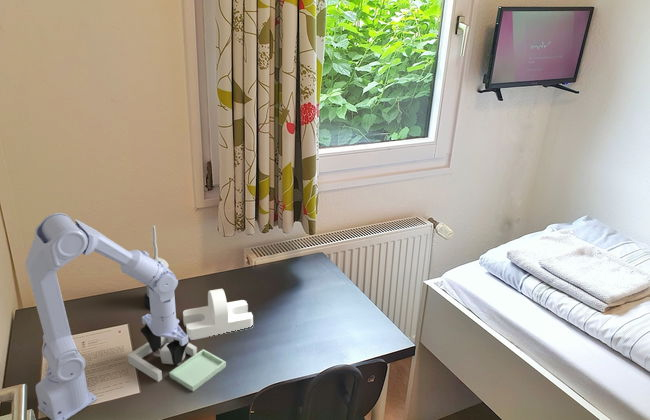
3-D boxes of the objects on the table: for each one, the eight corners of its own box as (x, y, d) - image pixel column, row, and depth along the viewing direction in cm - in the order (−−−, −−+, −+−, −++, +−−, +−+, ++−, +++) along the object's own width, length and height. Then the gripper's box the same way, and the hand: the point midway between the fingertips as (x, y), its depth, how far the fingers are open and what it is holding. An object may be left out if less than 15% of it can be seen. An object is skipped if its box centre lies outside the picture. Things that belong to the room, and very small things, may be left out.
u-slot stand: (182, 321, 146) (180, 288, 141) (245, 309, 152) (245, 278, 148) (188, 341, 138) (186, 307, 133) (253, 328, 144) (254, 295, 140)
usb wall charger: (177, 366, 127) (174, 352, 126) (153, 363, 129) (149, 350, 128) (185, 356, 131) (182, 343, 129) (162, 353, 133) (158, 340, 131)
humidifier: (178, 296, 156) (173, 221, 146) (167, 311, 149) (161, 234, 139) (152, 293, 157) (145, 218, 147) (140, 308, 149) (132, 231, 140)
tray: (193, 391, 121) (192, 386, 120) (169, 377, 125) (169, 372, 124) (226, 366, 129) (226, 361, 129) (203, 353, 133) (203, 349, 132)
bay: (158, 381, 123) (157, 373, 122) (128, 362, 128) (127, 354, 127) (197, 354, 132) (196, 347, 131) (167, 338, 138) (167, 330, 137)
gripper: (197, 314, 123) (199, 359, 129) (156, 293, 130) (160, 337, 136) (173, 328, 118) (177, 375, 123) (133, 306, 125) (138, 351, 130)
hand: (167, 356), depth 129 cm, fingers closed on usb wall charger, 7 cm apart
